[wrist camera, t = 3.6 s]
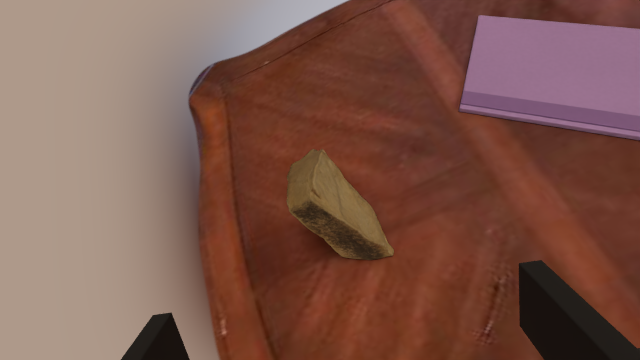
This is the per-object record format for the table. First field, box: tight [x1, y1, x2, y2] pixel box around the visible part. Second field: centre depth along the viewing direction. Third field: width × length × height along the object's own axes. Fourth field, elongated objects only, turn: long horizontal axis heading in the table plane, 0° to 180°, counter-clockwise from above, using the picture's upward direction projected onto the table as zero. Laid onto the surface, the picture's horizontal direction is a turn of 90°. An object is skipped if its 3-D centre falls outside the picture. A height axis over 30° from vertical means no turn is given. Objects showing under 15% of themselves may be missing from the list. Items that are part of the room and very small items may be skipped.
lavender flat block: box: [459, 15, 640, 140], centre depth 33 cm, size 18×13×1 cm
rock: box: [287, 149, 394, 260], centre depth 28 cm, size 11×9×10 cm
